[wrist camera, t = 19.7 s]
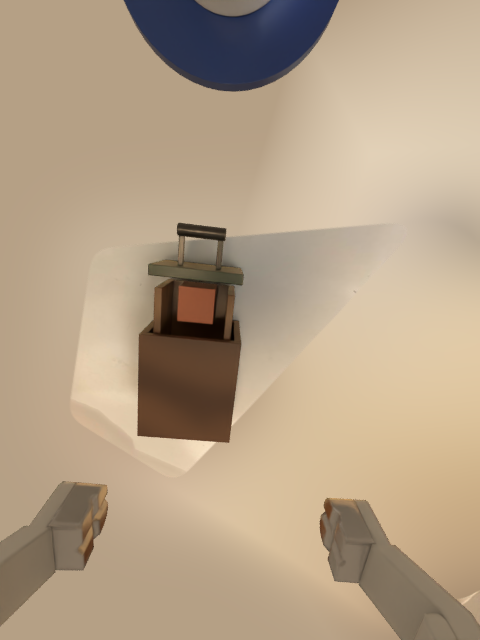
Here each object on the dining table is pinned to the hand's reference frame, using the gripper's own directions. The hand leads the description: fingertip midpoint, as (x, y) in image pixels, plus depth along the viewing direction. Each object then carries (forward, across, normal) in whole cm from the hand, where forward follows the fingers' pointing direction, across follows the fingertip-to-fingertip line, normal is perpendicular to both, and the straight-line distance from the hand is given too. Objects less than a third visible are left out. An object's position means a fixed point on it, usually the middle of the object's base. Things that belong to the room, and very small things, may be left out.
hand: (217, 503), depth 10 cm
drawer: (+30, +4, -2) cm, 31 cm away
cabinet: (+31, +4, +8) cm, 32 cm away
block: (+29, +4, -2) cm, 29 cm away
